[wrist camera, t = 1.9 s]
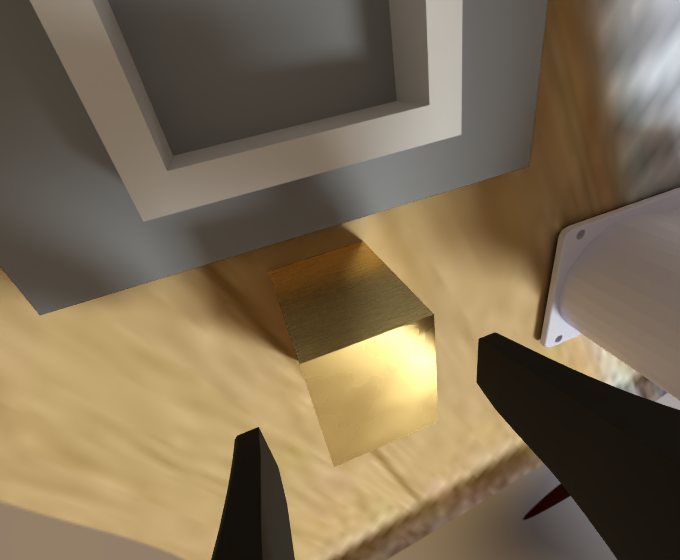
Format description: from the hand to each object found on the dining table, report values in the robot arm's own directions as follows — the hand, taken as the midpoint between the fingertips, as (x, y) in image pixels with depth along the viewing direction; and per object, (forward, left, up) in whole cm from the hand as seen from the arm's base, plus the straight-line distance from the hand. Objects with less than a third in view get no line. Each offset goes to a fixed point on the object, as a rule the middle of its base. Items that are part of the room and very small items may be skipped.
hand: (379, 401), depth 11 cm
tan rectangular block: (0, 0, -6) cm, 6 cm away
